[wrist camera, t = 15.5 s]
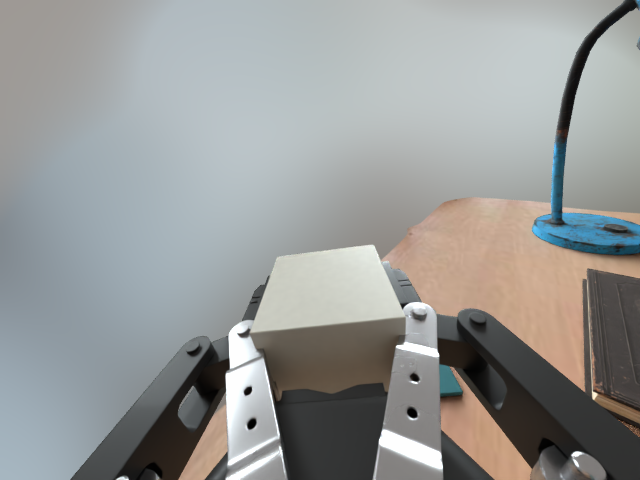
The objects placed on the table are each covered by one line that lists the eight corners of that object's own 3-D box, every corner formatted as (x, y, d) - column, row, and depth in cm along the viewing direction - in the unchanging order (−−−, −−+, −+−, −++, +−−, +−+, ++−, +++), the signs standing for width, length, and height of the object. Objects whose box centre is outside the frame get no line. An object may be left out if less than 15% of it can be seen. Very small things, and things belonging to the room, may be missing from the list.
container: (297, 456, 12) (248, 333, 8) (304, 360, 17) (277, 256, 13) (404, 450, 11) (406, 317, 8) (379, 354, 16) (373, 244, 13)
